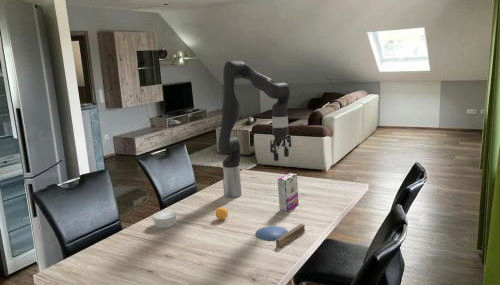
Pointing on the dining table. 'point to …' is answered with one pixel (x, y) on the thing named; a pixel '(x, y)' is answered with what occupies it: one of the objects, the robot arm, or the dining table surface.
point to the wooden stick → (290, 235)
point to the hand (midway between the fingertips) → (281, 158)
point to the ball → (221, 213)
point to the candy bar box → (288, 192)
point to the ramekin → (165, 219)
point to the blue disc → (270, 233)
